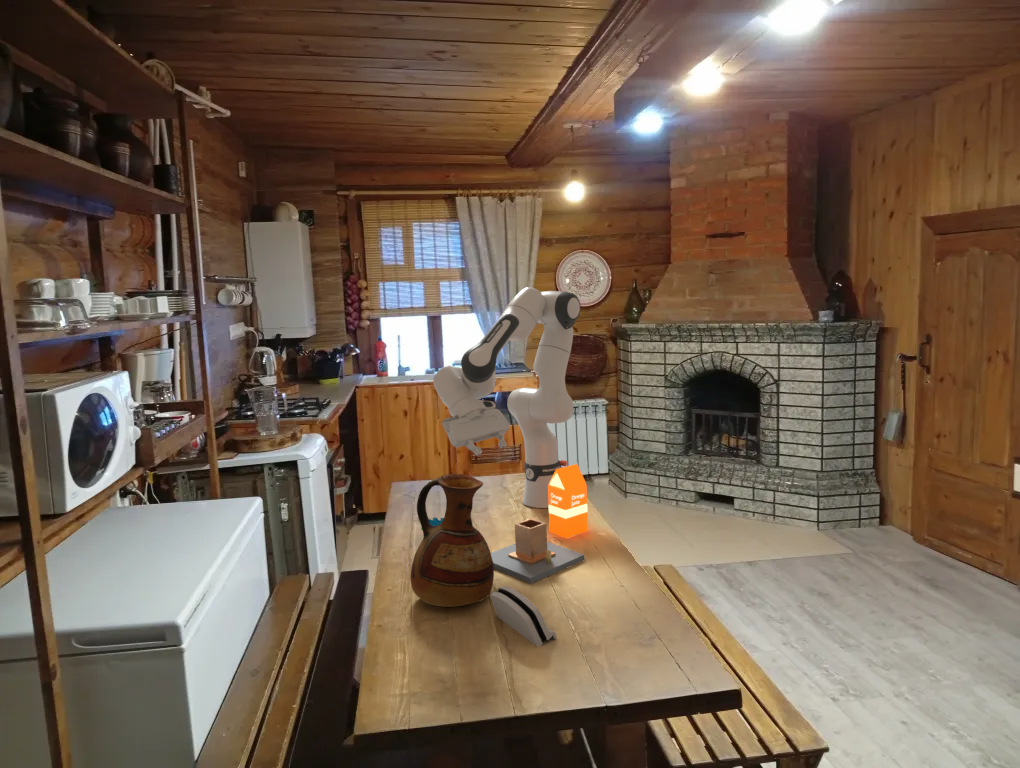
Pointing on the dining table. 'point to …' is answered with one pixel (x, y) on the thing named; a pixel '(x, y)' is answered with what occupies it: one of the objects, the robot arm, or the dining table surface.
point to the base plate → (539, 569)
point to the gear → (435, 521)
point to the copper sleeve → (530, 542)
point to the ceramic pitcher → (452, 549)
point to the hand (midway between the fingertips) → (492, 450)
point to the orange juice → (568, 502)
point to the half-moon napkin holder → (521, 615)
